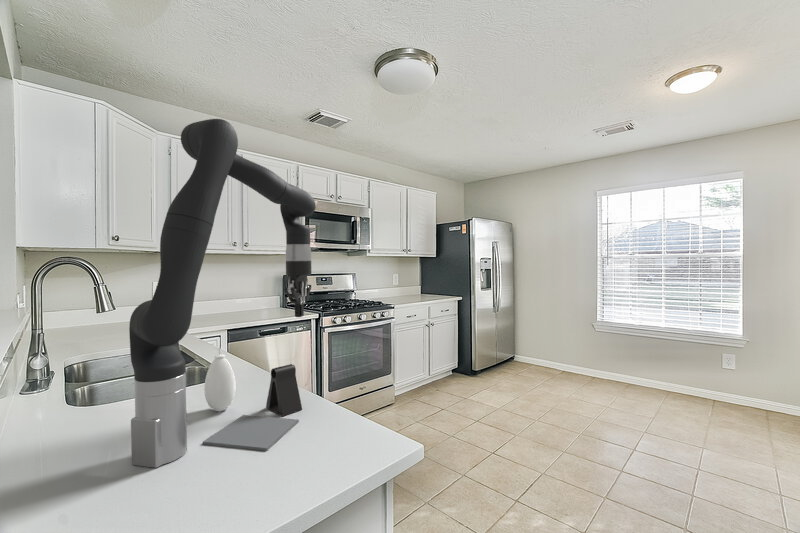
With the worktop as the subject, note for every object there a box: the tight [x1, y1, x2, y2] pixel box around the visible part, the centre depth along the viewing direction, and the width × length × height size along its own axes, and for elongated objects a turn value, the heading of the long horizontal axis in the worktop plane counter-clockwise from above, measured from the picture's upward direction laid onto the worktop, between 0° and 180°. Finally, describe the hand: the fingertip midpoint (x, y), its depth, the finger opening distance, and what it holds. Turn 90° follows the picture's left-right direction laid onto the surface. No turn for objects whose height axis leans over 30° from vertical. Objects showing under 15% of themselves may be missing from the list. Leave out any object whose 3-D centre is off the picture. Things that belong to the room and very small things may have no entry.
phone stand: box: [265, 363, 303, 418], centre depth 105 cm, size 9×6×12 cm, turn 47°
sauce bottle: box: [203, 345, 237, 413], centre depth 105 cm, size 8×8×18 cm
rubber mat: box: [202, 414, 300, 452], centre depth 91 cm, size 15×16×1 cm
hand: (299, 316), depth 115 cm, fingers closed
